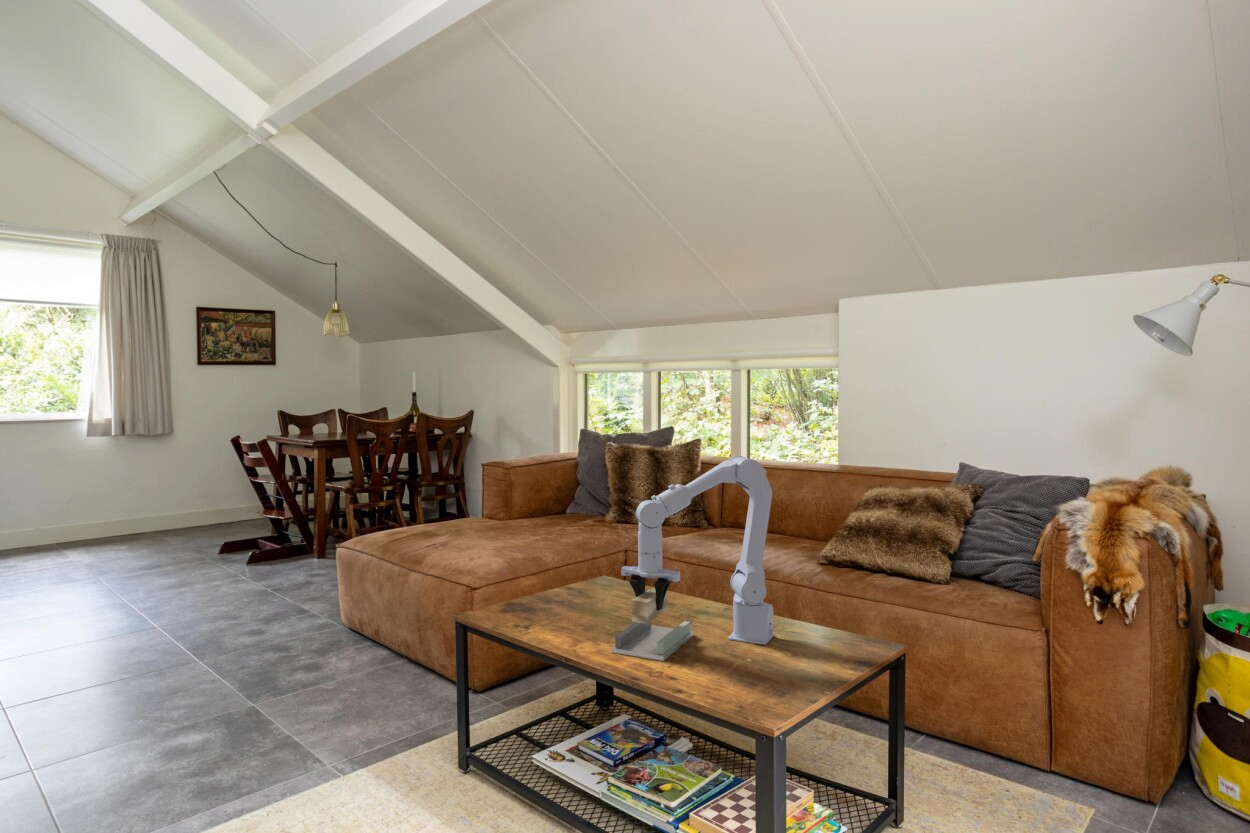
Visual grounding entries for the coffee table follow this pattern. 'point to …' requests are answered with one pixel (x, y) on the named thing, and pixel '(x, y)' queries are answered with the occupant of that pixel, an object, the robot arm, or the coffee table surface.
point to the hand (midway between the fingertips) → (650, 608)
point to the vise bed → (645, 641)
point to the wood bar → (647, 607)
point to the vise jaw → (673, 637)
